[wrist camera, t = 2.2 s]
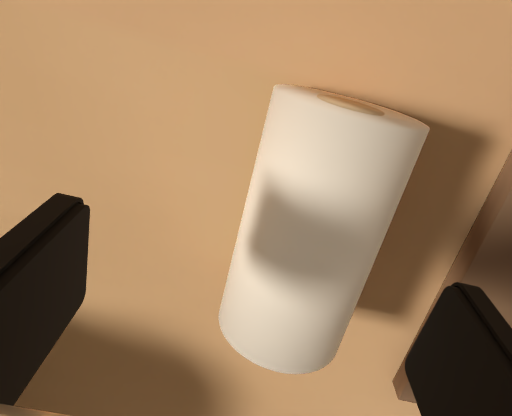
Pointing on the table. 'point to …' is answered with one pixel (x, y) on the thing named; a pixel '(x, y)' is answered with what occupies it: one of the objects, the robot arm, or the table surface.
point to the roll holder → (481, 261)
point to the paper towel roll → (313, 224)
